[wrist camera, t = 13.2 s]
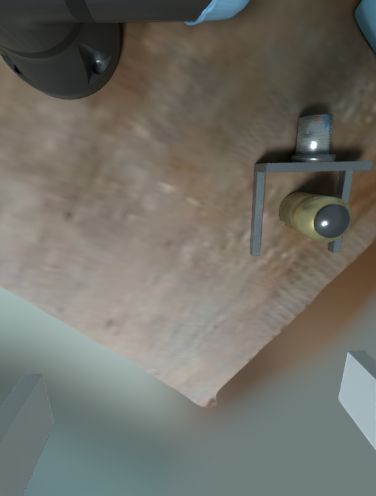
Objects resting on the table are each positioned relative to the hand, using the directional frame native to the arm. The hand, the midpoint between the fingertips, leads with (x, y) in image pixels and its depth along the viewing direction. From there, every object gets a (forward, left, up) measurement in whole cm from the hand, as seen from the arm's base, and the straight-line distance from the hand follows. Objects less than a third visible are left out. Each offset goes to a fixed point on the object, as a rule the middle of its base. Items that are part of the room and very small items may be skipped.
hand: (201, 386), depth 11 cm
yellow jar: (-2, +20, -32) cm, 38 cm away
